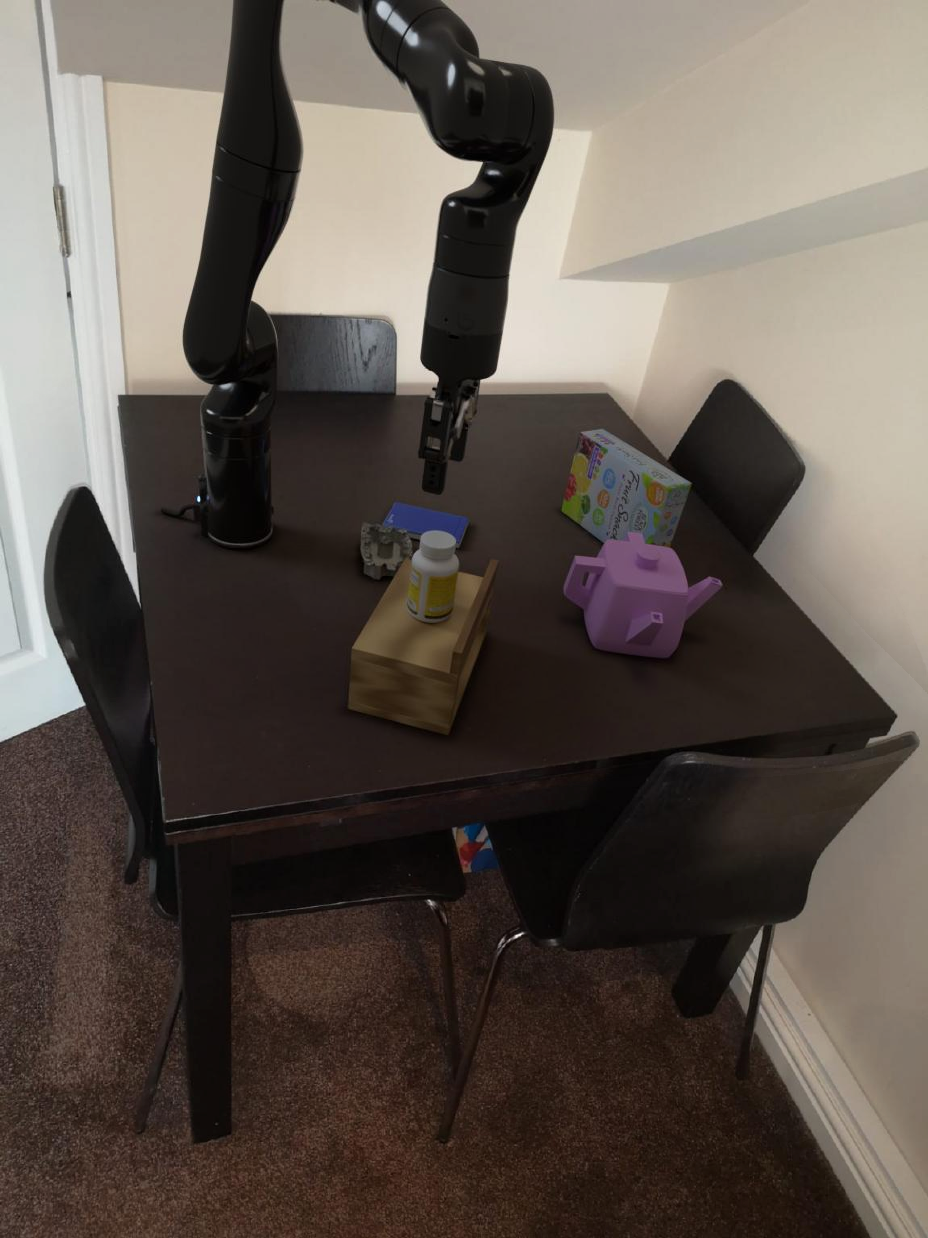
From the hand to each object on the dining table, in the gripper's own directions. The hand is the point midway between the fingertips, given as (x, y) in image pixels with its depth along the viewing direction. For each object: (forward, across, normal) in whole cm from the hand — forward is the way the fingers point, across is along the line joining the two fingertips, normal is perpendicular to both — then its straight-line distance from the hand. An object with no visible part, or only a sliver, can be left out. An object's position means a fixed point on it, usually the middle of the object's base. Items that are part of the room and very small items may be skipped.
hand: (443, 475), depth 84 cm
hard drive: (+27, -33, -8) cm, 44 cm away
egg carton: (+27, -21, -11) cm, 36 cm away
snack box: (+26, -45, +20) cm, 56 cm away
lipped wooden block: (+26, 0, +1) cm, 26 cm away
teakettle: (+26, -20, +26) cm, 42 cm away
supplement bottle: (+18, 0, +1) cm, 18 cm away
